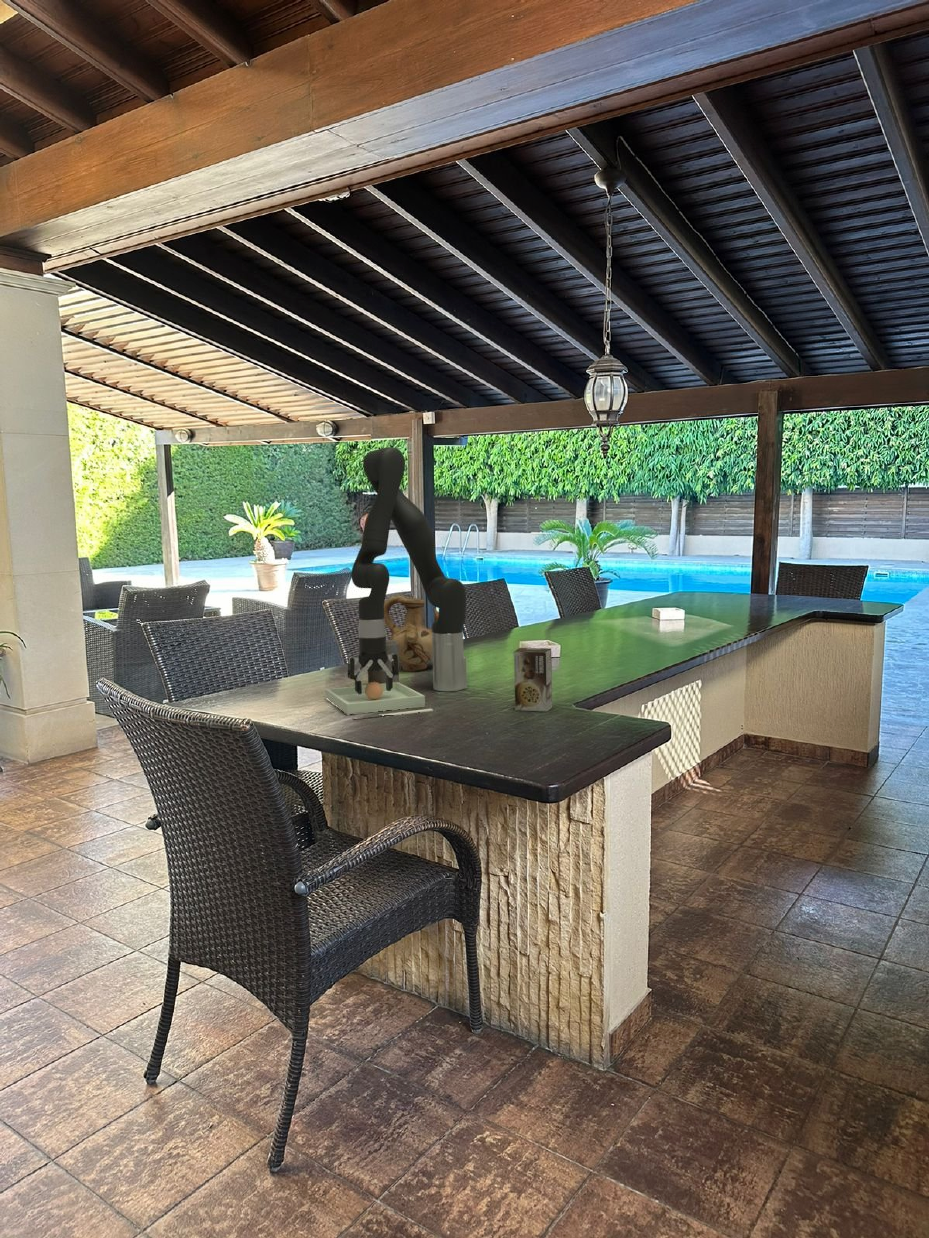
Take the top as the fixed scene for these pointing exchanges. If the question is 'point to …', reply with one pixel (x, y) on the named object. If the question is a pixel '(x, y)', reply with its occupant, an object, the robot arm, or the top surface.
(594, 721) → the top surface
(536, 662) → the coffee box
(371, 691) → the ball
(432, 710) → the strip
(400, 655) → the ceramic vessel
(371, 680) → the pillar candle
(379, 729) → the top surface
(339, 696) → the tray
